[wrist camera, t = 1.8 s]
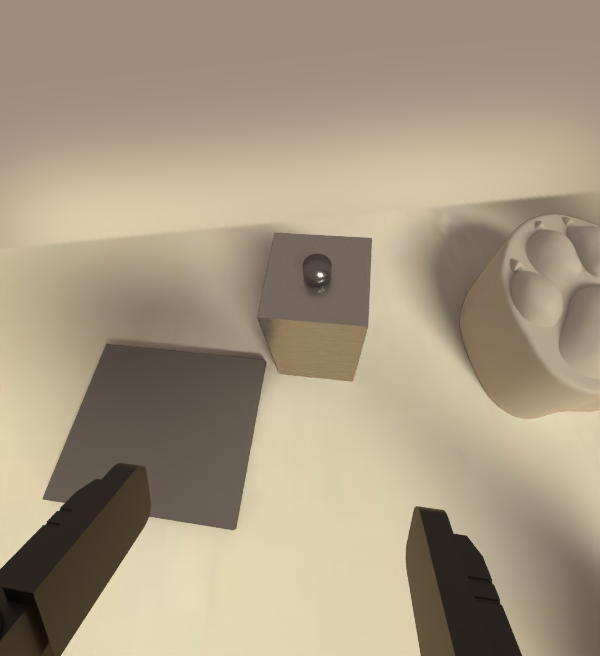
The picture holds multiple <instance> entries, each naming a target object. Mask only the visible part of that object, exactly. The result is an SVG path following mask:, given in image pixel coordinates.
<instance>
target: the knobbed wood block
mask: <svg viewBox="0 0 600 656" xmlns="http://www.w3.org/2000/svg"><path fill="white" fill-rule="evenodd" d="M371 247H372V238H361V237H343V236H324V235H305V234H287V233H275V234H274V239H273V243H272V248H271V253H270V258H269V263H268V268H267V272H266V277H265V282H264V287H263V292H262V297H261V301H260V306H259V311H258V316H257V318H258V321H259V323H260V326H261V328H262V331H263V333H264V336H265V338H266V341H267V343H268V346H269V348H270V351H271V354H272V356H273V359H274V361H275V364H276V366H277V369H278V371H279V374H287V375H296V376H306V377H315V378H325V379H335V380H344V381H353V379H354V376H355V372H356V369H357V365H358V361H359V358H360V354H361V350H362V347H363V343H364V340H365V336H366V332H367V329H368V317H369V293H370V270H371Z"/></svg>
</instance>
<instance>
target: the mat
mask: <svg viewBox="0 0 600 656" xmlns="http://www.w3.org/2000/svg"><path fill="white" fill-rule="evenodd" d="M265 367H266V362H265V360H263V359H253V358H242V357H232V356H222V355H212V354H202V353H192V352H182V351H172V350H162V349H152V348H142V347H132V346H122V345H112V344H106V346H105V349H104V351H103V353H102V356H101V358H100V361H99V363H98V366H97V368H96V370H95V373H94V375H93V378H92V380H91V382H90V385H89V387H88V390H87V392H86V395H85V397H84V399H83V402H82V404H81V407H80V409H79V412H78V414H77V416H76V419H75V421H74V424H73V426H72V428H71V431H70V433H69V436H68V438H67V441H66V443H65V445H64V448H63V450H62V453H61V455H60V458H59V460H58V462H57V465H56V467H55V470H54V472H53V475H52V477H51V479H50V482H49V484H48V487H47V489H46V491H45V494H44V496H43V499H44V500H50V501H56V502H63V503H66V502H67V501H68V500H69V499H70V497H71V496H72V495H73V494H74V493H75V492H76V491H78V490H79V489H81V488H83V487H84V486H86V485H87V484H89V483H90V482H92V481H93V480H95V479H102V478H103V477H104V476H105V475H106V474H107V473H108V472H109V471H110V470H111V468H112V467H113V466H115V465H116V464H118V463H125V464H132V465H139V466H144V467H145V468H146V471H147V478H148V485H149V492H150V499H151V510H150V515H149V517H155V518H161V519H168V520H174V521H180V522H186V523H192V524H198V525H205V526H211V527H217V528H223V529H229V530H234V529H236V526H237V521H238V515H239V510H240V504H241V499H242V493H243V488H244V482H245V477H246V471H247V466H248V460H249V455H250V449H251V444H252V438H253V433H254V427H255V422H256V416H257V411H258V405H259V400H260V394H261V389H262V383H263V378H264V372H265Z"/></svg>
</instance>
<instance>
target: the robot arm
mask: <svg viewBox="0 0 600 656" xmlns="http://www.w3.org/2000/svg"><path fill="white" fill-rule="evenodd" d="M150 510H151V499H150V492H149V485H148V478H147V471H146V468H145V467H144V466H139V465H132V464H125V463H118V464H116V465H115V466H113V467H112V468H111V470H110V471H109V472H108V473H107V474H106V475H105V476H104V477H103V478H102V479H95V480H93V481H92V482H90V483H89V484H87V485H86V486H84V487H83V488H81V489H79V490H78V491H76V492H75V493H74V494H73V495H72V496H71V497H70V499H69V500H68V501H67V502H66V503H65V504H64V505H63V506H62V507H61V508H60V511H57V512H56V513H55V514H54V515H53V516H52V517H51V518H50V519H49V520H48V521H47V524H46V525H43V526H42V527H41V528H40V529H39V530H38V531H37V532H36V533H35V534H34V535H33V536H32V537H31V538H30V539H29V540H28V541H27V542H26V544H25V545H24V546H23V547H22V548H21V549H20V550H19V551H18V552H17V553H16V554H15V555H14V556H13V557H12V558H11V559H10V560H9V561H8V562H7V563H6V564H5V565H4V566H3V567H2V568H1V569H0V656H61V654H62V653H63V651H64V650H65V648H66V647H67V645H68V643H69V642H70V640H71V639H72V637H73V636H74V634H75V633H76V631H77V630H78V628H79V627H80V625H81V623H82V622H83V620H84V619H85V617H86V616H87V614H88V613H89V611H90V610H91V608H92V607H93V605H94V603H95V602H96V600H97V599H98V597H99V596H100V594H101V593H102V591H103V590H104V588H105V587H106V585H107V583H108V582H109V580H110V579H111V577H112V576H113V574H114V573H115V571H116V570H117V568H118V567H119V565H120V563H121V562H122V560H123V559H124V557H125V556H126V554H127V553H128V551H129V550H130V548H131V547H132V545H133V543H134V542H135V540H136V539H137V537H138V536H139V534H140V533H141V531H142V530H143V528H144V526H145V525H146V523H147V520H148V518H149V515H150ZM406 568H407V575H408V581H409V587H410V593H411V599H412V605H413V611H414V617H415V623H416V629H417V635H418V641H419V647H420V653H421V656H522V654H521V652H520V649H519V647H518V644H517V642H516V639H515V637H514V634H513V632H512V629H511V627H510V624H509V621H508V619H507V616H506V614H505V611H504V609H503V606H502V605H501V604H500V599H499V596H498V594H497V591H496V589H495V586H494V585H493V584H492V579H491V576H490V574H489V571H488V568H487V566H486V563H485V561H484V558H483V556H482V555H481V554H480V552H479V551H478V550H477V548H476V547H475V546H474V545H473V543H472V542H471V541H470V539H469V538H468V537H467V536H465V535H458V534H453V531H452V528H451V525H450V522H449V519H448V516H447V514H446V512H445V511H444V510H439V509H432V508H425V507H418V506H416V507H415V508H414V512H413V516H412V521H411V526H410V530H409V535H408V540H407V545H406Z"/></svg>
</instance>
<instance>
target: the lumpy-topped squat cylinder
mask: <svg viewBox="0 0 600 656" xmlns="http://www.w3.org/2000/svg"><path fill="white" fill-rule="evenodd" d="M459 325H460V330H461V335H462V338H463V342H464V345H465V348H466V351H467V354H468V357H469V359H470V362H471V364H472V366H473V369H474V371H475V373H476V375H477V377H478V379H479V381H480V384H481V385H482V387H483V389H484V391H485V392H486V394H487V395H488V396H489V398H490V399H491V400H492V401H493V402H494V403H495V404H496V405H497V406H498V407H500V408H501V409H502V410H504V411H505V412H507V413H508V414H510V415H512V416H515V417H518V418H522V419H534V418H539V417H542V416H546V415H549V414H552V413H556V412H563V411H577V412H591V411H597V410H600V226H598V225H596V224H593V223H590V222H587V221H584V220H581V219H578V218H574V217H571V216H566V215H560V214H549V215H542V216H538V217H535V218H532V219H530V220H527V221H526V222H524V223H523V224H521V225H520V226H519V227H518V228H516V229H515V230H514V231H513V232H512V234H511V235H510V236H509V237H508V238H507V240H506V241H505V242H504V244H503V245H502V246H501V248H500V249H499V250H498V252H497V253H496V254H495V256H494V257H493V258H492V260H491V261H490V262H489V264H488V265H487V267H486V268H485V269H484V271H483V272H482V273H481V275H480V276H479V277H478V279H477V280H476V281H475V283H474V284H473V285H472V287H471V288H470V290H469V291H468V293H467V295H466V297H465V300H464V303H463V306H462V310H461V314H460V320H459Z"/></svg>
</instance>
